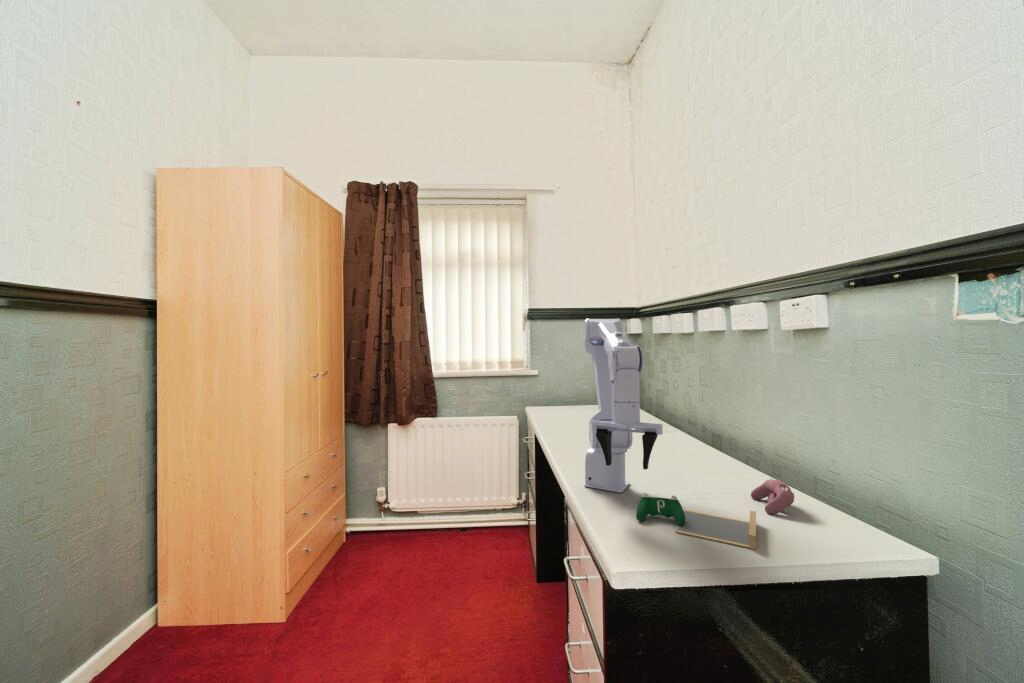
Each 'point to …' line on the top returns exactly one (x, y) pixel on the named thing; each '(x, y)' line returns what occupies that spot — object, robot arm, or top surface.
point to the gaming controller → (660, 508)
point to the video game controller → (774, 495)
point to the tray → (720, 528)
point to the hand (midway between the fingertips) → (626, 466)
